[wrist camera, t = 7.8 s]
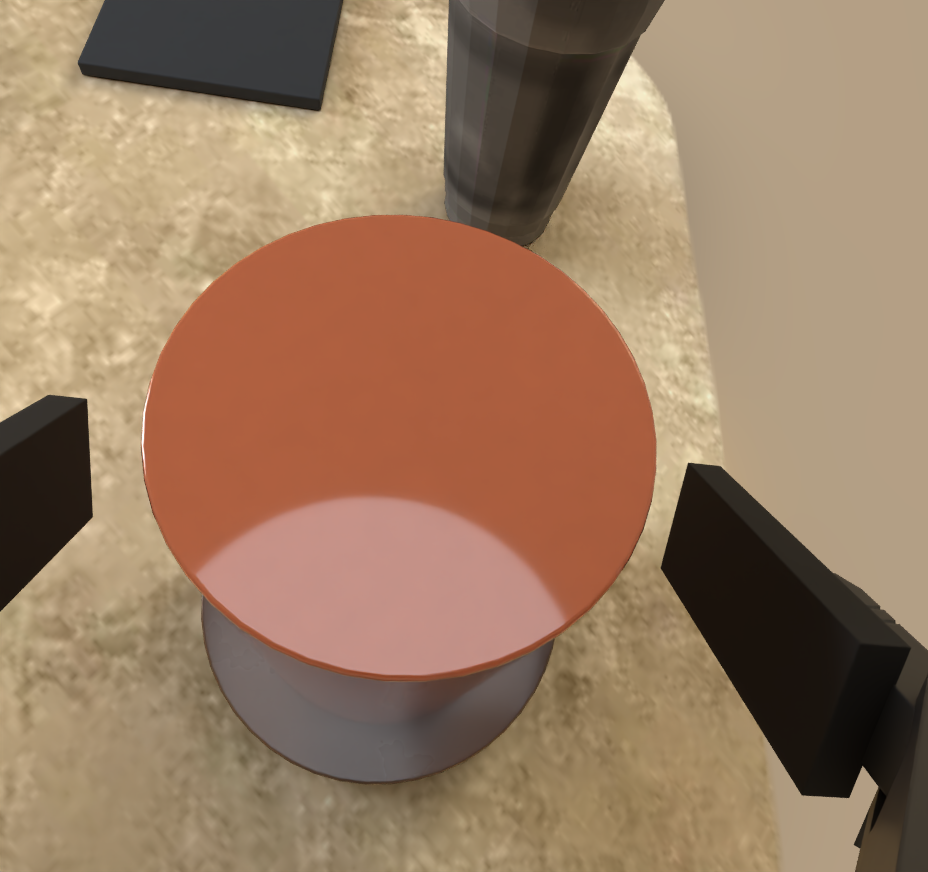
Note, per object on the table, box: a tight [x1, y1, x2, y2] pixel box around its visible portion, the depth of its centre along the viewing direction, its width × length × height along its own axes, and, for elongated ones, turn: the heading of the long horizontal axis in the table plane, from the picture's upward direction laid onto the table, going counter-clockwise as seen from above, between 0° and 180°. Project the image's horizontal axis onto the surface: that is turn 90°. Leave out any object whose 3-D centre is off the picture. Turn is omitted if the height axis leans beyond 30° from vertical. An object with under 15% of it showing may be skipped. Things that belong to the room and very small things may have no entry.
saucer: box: [201, 595, 555, 784], centre depth 21 cm, size 10×10×2 cm
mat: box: [78, 0, 343, 110], centre depth 32 cm, size 10×10×1 cm
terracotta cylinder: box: [141, 215, 656, 724], centre depth 15 cm, size 7×7×11 cm
